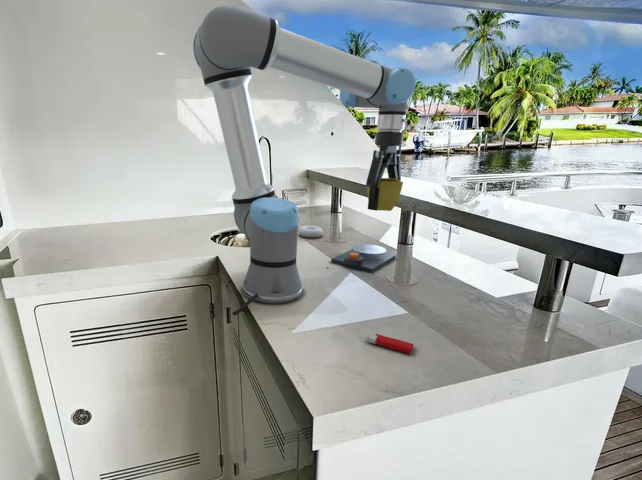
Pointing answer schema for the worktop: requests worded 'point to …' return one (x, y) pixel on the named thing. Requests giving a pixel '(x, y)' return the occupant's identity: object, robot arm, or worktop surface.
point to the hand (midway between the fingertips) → (381, 207)
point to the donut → (310, 231)
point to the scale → (363, 261)
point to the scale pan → (369, 249)
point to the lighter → (391, 343)
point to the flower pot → (388, 193)
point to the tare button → (353, 255)
